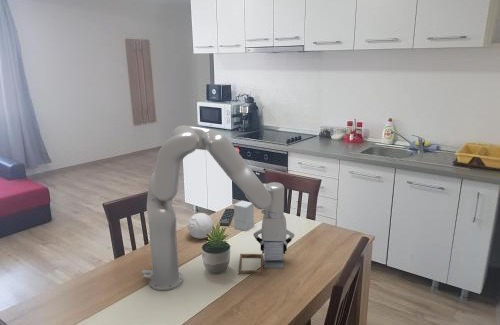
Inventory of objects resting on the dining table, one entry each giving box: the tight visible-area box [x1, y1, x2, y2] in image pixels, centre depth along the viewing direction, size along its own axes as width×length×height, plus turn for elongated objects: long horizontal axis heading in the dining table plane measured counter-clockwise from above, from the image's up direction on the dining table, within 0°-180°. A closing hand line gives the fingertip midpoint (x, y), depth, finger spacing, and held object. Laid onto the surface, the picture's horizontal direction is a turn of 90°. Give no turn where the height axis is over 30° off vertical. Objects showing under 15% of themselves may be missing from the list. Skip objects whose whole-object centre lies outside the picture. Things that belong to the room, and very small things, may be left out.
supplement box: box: [233, 200, 255, 232], centre depth 186 cm, size 7×7×13 cm
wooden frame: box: [237, 253, 264, 276], centre depth 152 cm, size 10×14×2 cm
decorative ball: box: [187, 212, 214, 239], centre depth 175 cm, size 12×12×12 cm
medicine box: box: [263, 241, 284, 262], centre depth 153 cm, size 8×4×9 cm, turn 88°
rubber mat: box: [264, 259, 285, 270], centre depth 155 cm, size 8×11×1 cm
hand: (273, 252), depth 154 cm, fingers closed on medicine box, 8 cm apart
